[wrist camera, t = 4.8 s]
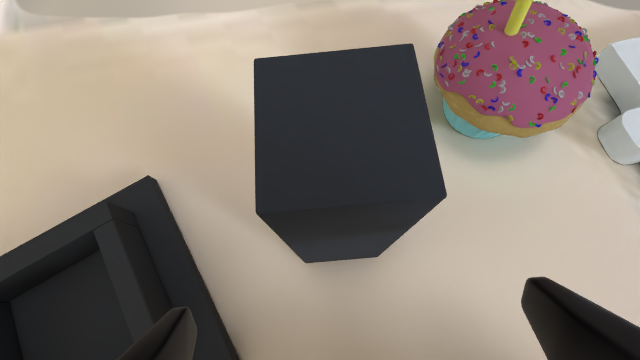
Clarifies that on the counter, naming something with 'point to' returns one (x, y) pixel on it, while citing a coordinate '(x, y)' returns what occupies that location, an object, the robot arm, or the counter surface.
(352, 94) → the post
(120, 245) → the socket pad
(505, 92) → the cupcake
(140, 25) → the counter surface
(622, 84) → the mounting plate
